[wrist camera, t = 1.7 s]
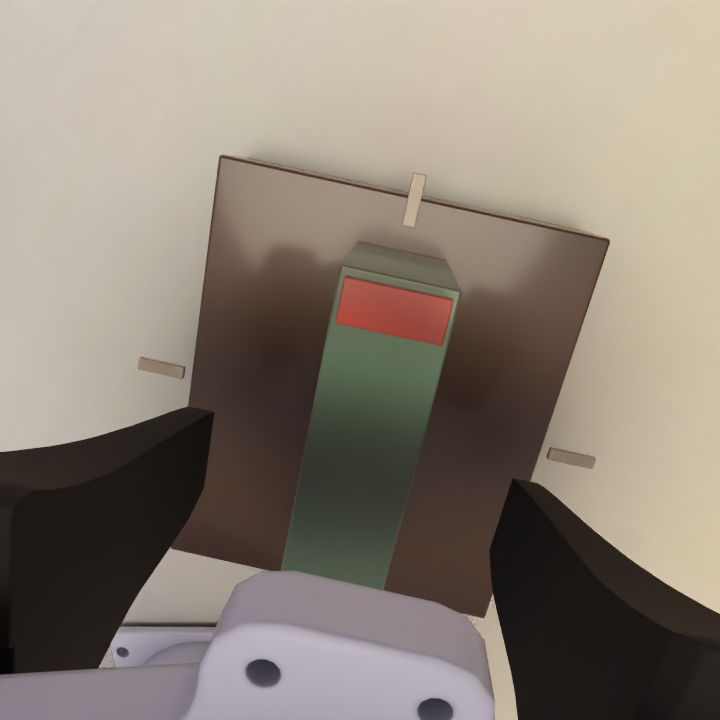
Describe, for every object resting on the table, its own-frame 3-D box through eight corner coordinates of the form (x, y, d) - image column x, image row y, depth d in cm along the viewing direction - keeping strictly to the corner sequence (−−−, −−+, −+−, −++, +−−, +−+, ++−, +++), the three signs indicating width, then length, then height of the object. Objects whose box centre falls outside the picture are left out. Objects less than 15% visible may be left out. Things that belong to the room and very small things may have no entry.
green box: (373, 557, 20) (363, 671, 15) (296, 540, 20) (264, 648, 15) (447, 261, 17) (463, 292, 12) (357, 241, 17) (339, 265, 12)
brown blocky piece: (510, 585, 23) (526, 647, 20) (156, 507, 23) (120, 557, 20) (636, 221, 19) (680, 230, 16) (200, 127, 19) (161, 118, 16)
